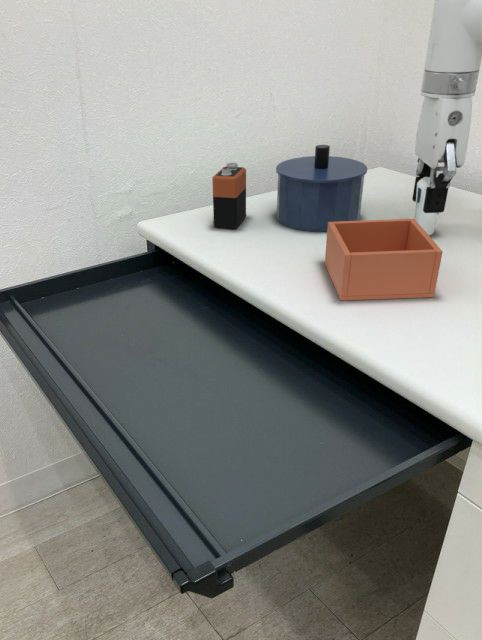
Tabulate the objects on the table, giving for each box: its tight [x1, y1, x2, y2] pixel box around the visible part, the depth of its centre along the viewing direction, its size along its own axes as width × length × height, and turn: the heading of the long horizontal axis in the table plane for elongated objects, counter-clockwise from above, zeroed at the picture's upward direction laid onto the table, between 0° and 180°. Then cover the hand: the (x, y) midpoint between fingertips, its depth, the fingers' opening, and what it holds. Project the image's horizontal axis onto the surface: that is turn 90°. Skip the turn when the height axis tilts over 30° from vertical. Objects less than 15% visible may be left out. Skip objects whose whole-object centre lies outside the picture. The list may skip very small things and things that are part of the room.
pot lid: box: [275, 144, 368, 183], centre depth 103 cm, size 16×16×5 cm
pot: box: [276, 174, 365, 233], centre depth 106 cm, size 15×15×8 cm
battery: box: [212, 162, 247, 230], centre depth 105 cm, size 4×7×10 cm, turn 161°
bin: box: [324, 218, 444, 301], centre depth 84 cm, size 13×13×7 cm
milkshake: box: [414, 176, 440, 237], centre depth 97 cm, size 4×5×10 cm
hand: (427, 205), depth 97 cm, fingers closed on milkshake, 4 cm apart
